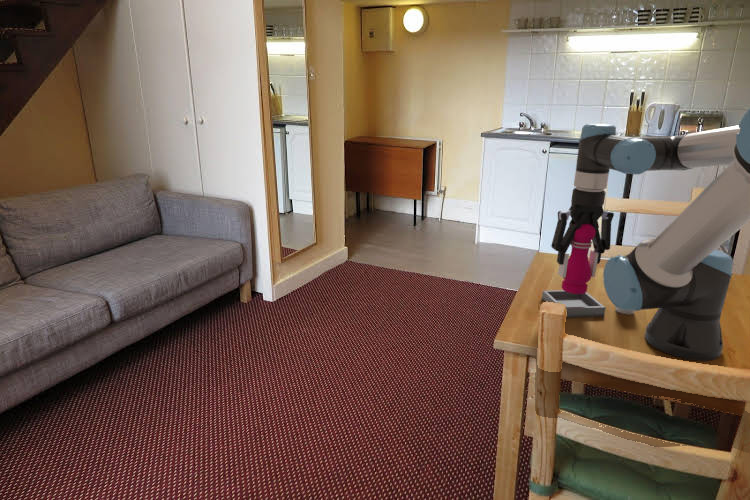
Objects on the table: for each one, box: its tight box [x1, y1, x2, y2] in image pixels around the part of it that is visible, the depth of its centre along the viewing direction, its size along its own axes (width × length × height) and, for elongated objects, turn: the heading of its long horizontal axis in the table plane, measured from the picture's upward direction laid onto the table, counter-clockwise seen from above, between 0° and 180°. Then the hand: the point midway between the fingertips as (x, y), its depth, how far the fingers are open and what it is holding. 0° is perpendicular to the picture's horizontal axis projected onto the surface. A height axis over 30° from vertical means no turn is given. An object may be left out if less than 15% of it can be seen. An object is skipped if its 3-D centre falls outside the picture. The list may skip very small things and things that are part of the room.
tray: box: [541, 289, 606, 318], centre depth 132 cm, size 12×12×2 cm
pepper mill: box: [561, 224, 596, 294], centre depth 128 cm, size 7×7×20 cm
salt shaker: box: [615, 306, 635, 315], centre depth 129 cm, size 4×4×10 cm
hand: (576, 275), depth 129 cm, fingers closed on pepper mill, 7 cm apart
